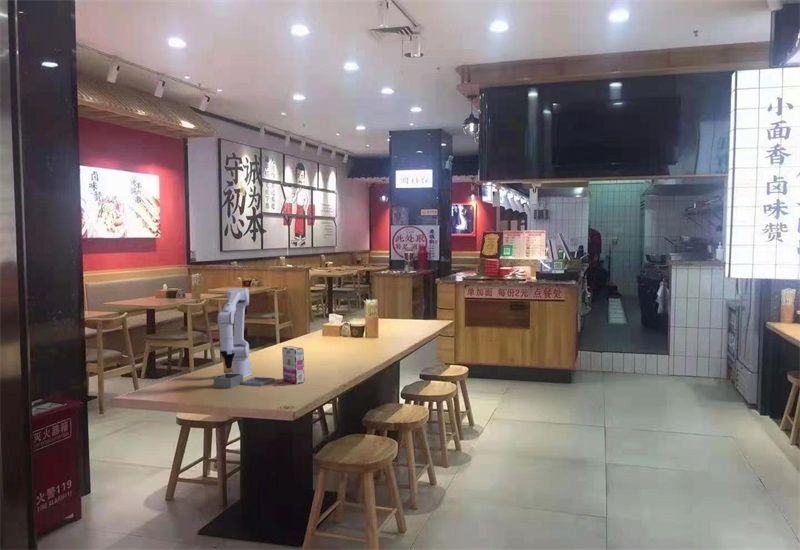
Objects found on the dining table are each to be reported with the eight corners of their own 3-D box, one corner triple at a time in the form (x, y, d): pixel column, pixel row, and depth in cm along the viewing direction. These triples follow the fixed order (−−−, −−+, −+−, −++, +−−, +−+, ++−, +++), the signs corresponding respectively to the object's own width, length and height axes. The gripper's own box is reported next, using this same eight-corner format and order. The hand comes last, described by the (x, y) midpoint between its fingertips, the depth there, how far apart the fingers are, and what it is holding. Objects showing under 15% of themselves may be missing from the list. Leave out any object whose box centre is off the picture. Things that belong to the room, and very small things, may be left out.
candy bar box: (305, 382, 287) (304, 347, 286) (296, 384, 283) (295, 349, 282) (291, 379, 294) (290, 345, 294) (282, 381, 291) (281, 346, 290)
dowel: (227, 371, 285) (226, 356, 285) (234, 371, 284) (233, 356, 283) (221, 372, 281) (221, 357, 281) (229, 373, 280) (228, 358, 279)
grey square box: (226, 383, 289) (226, 373, 288) (243, 384, 285) (242, 374, 285) (214, 388, 280) (213, 377, 280) (231, 389, 277) (230, 378, 277)
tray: (254, 380, 294) (254, 376, 293) (274, 381, 290) (274, 378, 290) (241, 385, 283) (241, 382, 283) (261, 387, 279) (261, 383, 279)
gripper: (215, 336, 286) (216, 365, 287) (219, 341, 273) (221, 371, 274) (230, 335, 289) (232, 363, 290) (236, 339, 276) (237, 369, 277)
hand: (228, 367), depth 282 cm, fingers closed on dowel, 4 cm apart
